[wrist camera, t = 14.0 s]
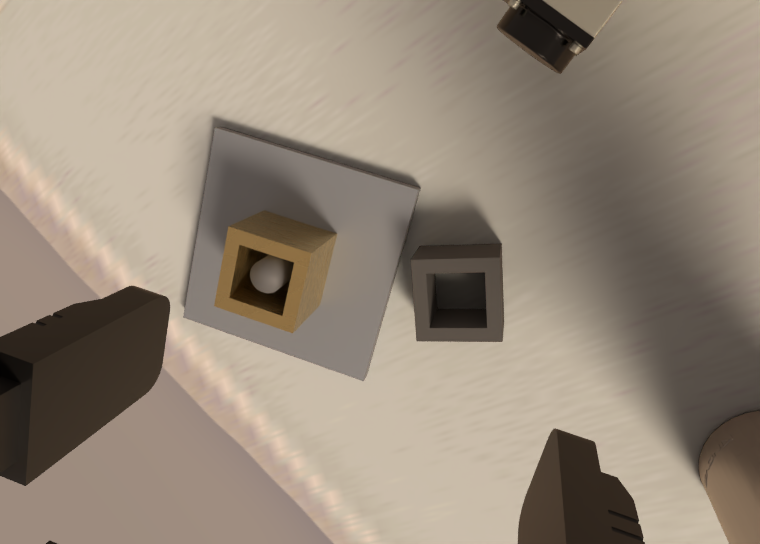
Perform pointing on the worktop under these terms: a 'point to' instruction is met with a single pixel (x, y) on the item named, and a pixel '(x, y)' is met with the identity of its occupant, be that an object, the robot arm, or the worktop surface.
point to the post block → (345, 275)
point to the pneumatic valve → (555, 27)
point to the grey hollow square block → (458, 321)
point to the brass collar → (282, 241)
